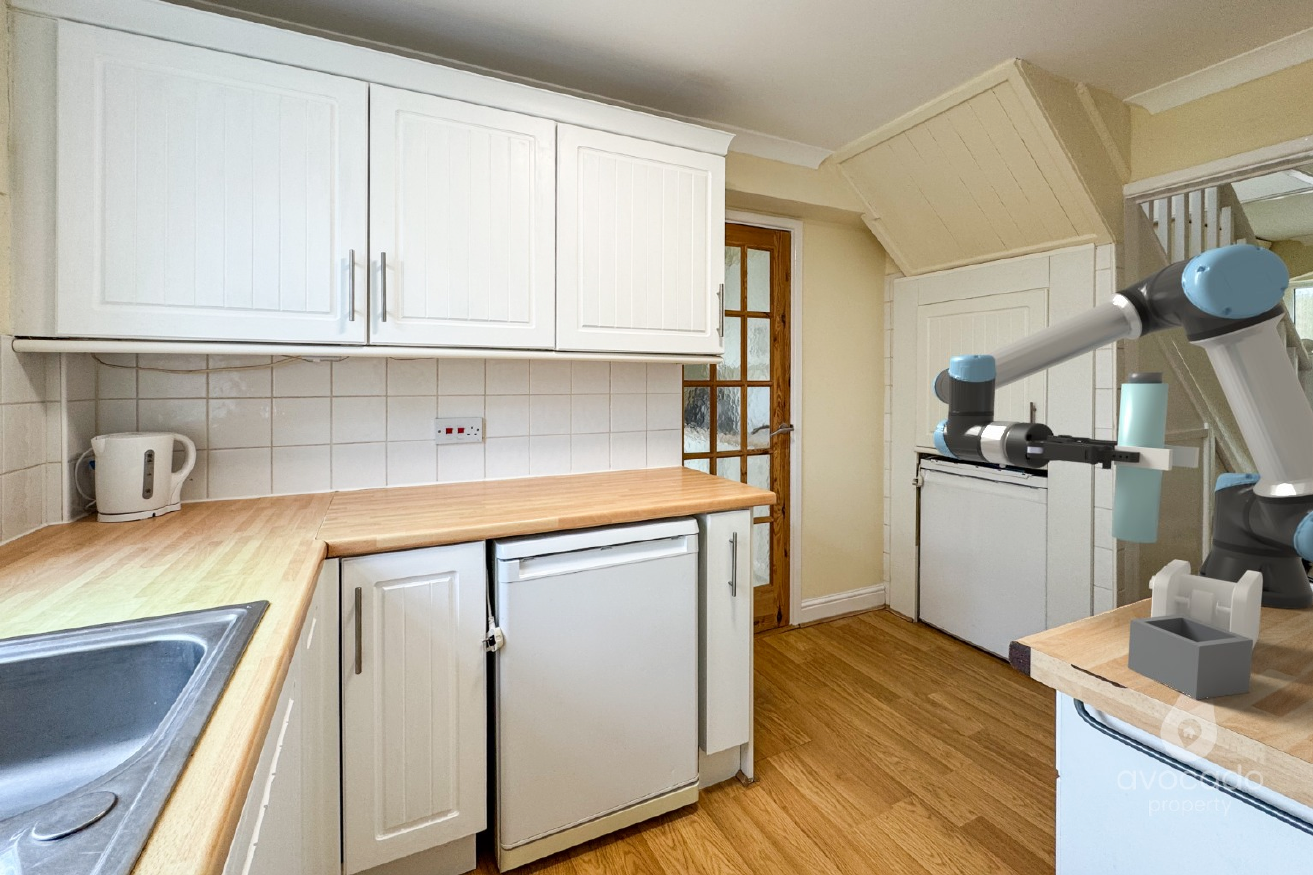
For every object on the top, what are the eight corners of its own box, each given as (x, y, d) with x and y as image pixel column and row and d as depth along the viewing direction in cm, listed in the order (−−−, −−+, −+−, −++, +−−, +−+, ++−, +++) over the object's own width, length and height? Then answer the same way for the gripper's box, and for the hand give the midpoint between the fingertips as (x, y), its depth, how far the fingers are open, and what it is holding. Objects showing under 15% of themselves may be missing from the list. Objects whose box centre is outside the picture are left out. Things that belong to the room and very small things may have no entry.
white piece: (1243, 674, 79) (1248, 592, 78) (1144, 648, 87) (1148, 573, 86) (1259, 644, 88) (1264, 569, 87) (1168, 622, 96) (1172, 554, 95)
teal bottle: (1130, 532, 85) (1141, 372, 83) (1166, 541, 80) (1179, 372, 78) (1102, 534, 84) (1113, 373, 82) (1137, 544, 79) (1149, 372, 77)
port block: (1177, 661, 83) (1180, 614, 82) (1249, 691, 74) (1253, 639, 74) (1127, 667, 81) (1130, 619, 80) (1195, 699, 73) (1199, 646, 72)
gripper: (1054, 462, 101) (1222, 482, 80) (979, 469, 95) (1138, 492, 73) (1056, 420, 101) (1225, 428, 79) (980, 424, 95) (1141, 433, 73)
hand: (1183, 458), depth 76 cm, fingers closed on teal bottle, 5 cm apart
